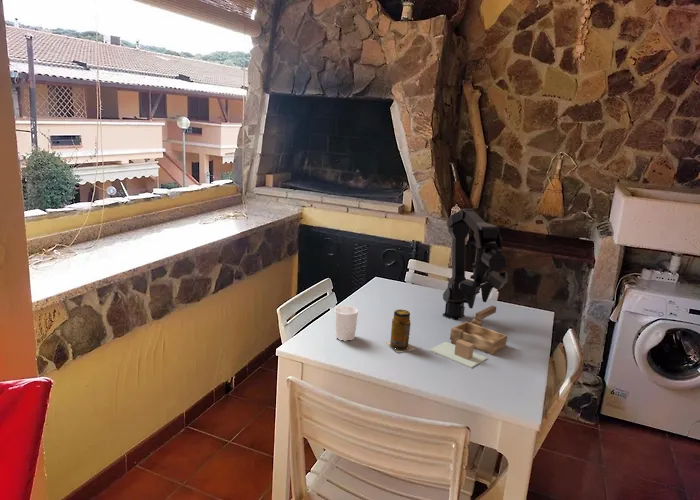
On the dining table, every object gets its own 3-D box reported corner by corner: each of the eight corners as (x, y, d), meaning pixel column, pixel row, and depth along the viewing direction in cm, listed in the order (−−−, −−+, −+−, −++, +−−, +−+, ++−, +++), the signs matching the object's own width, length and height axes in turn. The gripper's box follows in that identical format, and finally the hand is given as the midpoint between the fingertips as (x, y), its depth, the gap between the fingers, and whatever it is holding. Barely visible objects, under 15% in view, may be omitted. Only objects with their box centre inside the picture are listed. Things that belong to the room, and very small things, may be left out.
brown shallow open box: (445, 341, 179) (447, 327, 177) (468, 329, 189) (469, 316, 188) (487, 357, 168) (489, 342, 167) (509, 344, 179) (510, 330, 178)
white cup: (359, 335, 179) (361, 308, 177) (350, 344, 172) (352, 316, 170) (339, 330, 182) (341, 304, 180) (329, 338, 175) (330, 311, 173)
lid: (429, 352, 171) (430, 337, 169) (445, 344, 178) (447, 329, 176) (471, 369, 160) (473, 353, 159) (486, 360, 167) (488, 344, 166)
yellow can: (402, 339, 178) (405, 307, 175) (416, 350, 171) (419, 316, 168) (384, 342, 175) (387, 309, 172) (397, 353, 167) (400, 318, 164)
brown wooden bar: (475, 318, 186) (475, 313, 185) (491, 311, 194) (492, 305, 194) (479, 320, 185) (480, 314, 184) (495, 312, 193) (496, 306, 193)
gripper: (491, 273, 164) (485, 318, 168) (518, 263, 177) (511, 305, 181) (460, 264, 171) (455, 308, 175) (488, 255, 184) (483, 296, 188)
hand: (477, 305), depth 180 cm, fingers open, 9 cm apart
